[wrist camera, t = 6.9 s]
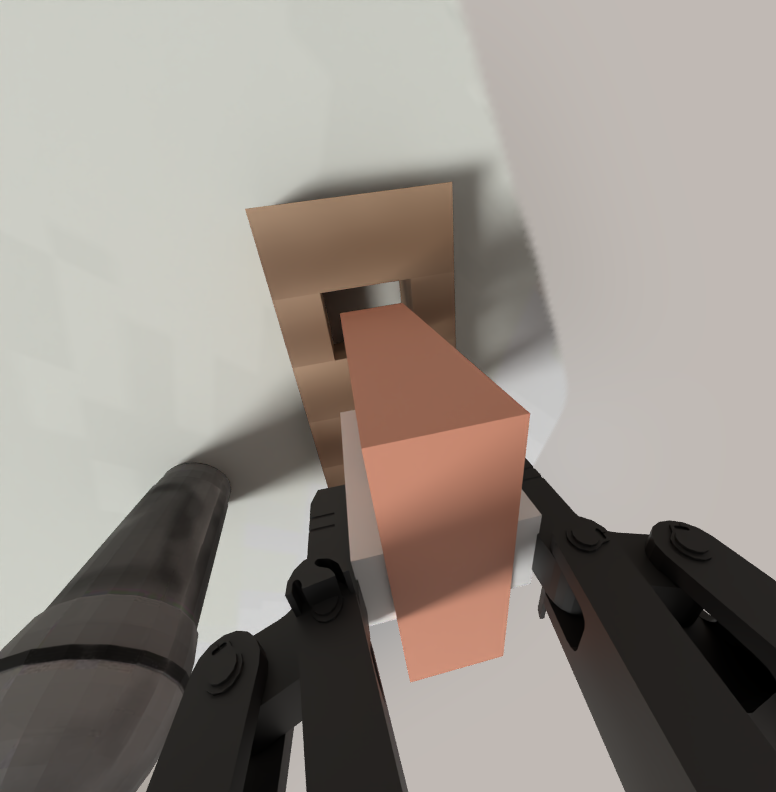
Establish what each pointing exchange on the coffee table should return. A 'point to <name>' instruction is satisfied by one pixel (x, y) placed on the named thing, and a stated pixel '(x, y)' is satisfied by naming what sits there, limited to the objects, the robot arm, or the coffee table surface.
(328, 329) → the slotted wooden board
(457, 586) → the block
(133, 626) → the beverage cup
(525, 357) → the coffee table surface
